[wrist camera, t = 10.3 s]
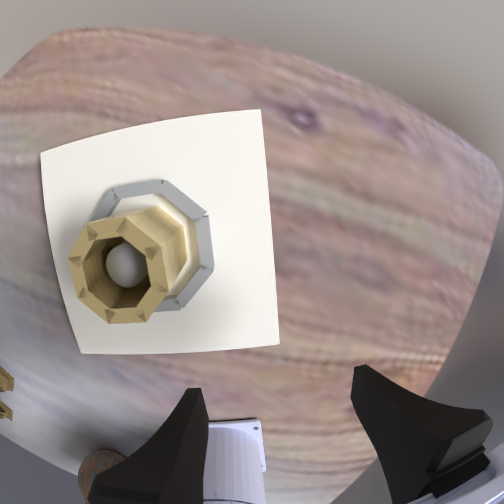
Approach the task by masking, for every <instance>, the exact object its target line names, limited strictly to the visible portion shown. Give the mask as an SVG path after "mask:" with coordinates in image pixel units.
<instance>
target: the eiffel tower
mask: <svg viewBox="0 0 504 504" xmlns="http://www.w3.org/2000/svg"><path fill="white" fill-rule="evenodd" d="M13 385H14V378H13V377H12V376H11V375H10V374H9V373H8V372H6V371H5V370H4V369H3V368H2V367H1V366H0V392H4V391H6V390H8V391H9V390H11V391H13ZM6 417H7V418H9V419H10V420H11V421H12V410H11V409H10V408H9V407H7V406H6V405H5V404H4V403H3V402H2V401H0V419H3V418H6Z"/></svg>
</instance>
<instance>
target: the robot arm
mask: <svg viewBox="0 0 504 504" xmlns="http://www.w3.org/2000/svg"><path fill="white" fill-rule="evenodd" d="M351 400H352V403H353V406H354V409H355V412H356V414H357V416H358V418H359V420H360V422H361V424H362V425H363V427H364V429H365V431H366V433H367V435H368V436H369V438H370V440H371V442H372V444H373V446H374V448H375V450H376V452H377V454H378V457H379V460H380V462H381V465H382V468H383V471H384V474H385V477H386V480H387V484H388V487H389V490H390V494H391V498H392V503H393V504H497V503H499V502H500V501H501V500H502V499H504V442H503V443H502V444H501V445H499V446H498V447H496V448H495V449H494V450H492V451H491V452H490V453H489V454H488V455H487V456H485V454H484V453H483V452H484V451H485V448H484V446H483V445H482V444H483V443H484V441H485V439H486V438H487V436H488V434H489V433H490V431H491V429H492V426H493V421H492V419H491V418H490V417H489V416H488V415H487V414H486V413H485V412H484V411H483V410H478V409H465V408H458V407H452V406H449V405H444V404H441V403H437V402H434V401H431V400H428V399H426V398H423V397H421V396H419V395H416V394H414V393H412V392H410V391H408V390H406V389H404V388H403V387H401V386H399V385H397V384H396V383H394V382H392V381H391V380H389V379H388V378H386V377H384V376H383V375H381V374H380V373H378V372H377V371H375V370H374V369H372V368H371V367H369V366H368V365H366V364H365V365H361V366H357V367H354V375H353V383H352V391H351ZM265 471H266V464H265V456H264V448H263V440H262V431H261V423H260V421H259V420H258V419H251V420H241V421H227V422H209V417H208V414H207V410H206V406H205V402H204V398H203V395H202V391H201V388H188V389H187V390H186V391H185V393H184V395H183V396H182V398H181V399H180V401H179V403H178V404H177V406H176V407H175V409H174V410H173V411H172V413H171V414H170V416H169V417H168V418H167V420H166V421H165V422H164V423H163V425H162V426H161V427H160V428H159V430H158V431H157V432H156V433H155V434H154V435H153V436H152V437H151V438H150V439H149V440H148V441H147V442H146V443H145V444H144V445H143V446H142V447H140V448H139V449H138V450H137V451H136V452H134V453H133V454H132V455H130V456H129V457H127V458H126V459H124V460H123V461H121V462H120V463H118V464H116V465H115V466H113V467H111V468H109V469H107V470H105V471H103V472H101V473H98V474H96V476H95V478H94V480H93V483H92V485H91V488H90V491H89V494H88V497H87V499H88V501H89V503H90V504H266V498H265V490H264V482H263V474H262V472H265Z"/></svg>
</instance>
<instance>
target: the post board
mask: <svg viewBox="0 0 504 504" xmlns="http://www.w3.org/2000/svg"><path fill="white" fill-rule="evenodd" d="M41 172H42V185H43V195H44V204H45V212H46V219H47V226H48V232H49V238H50V243H51V248H52V254H53V258H54V263H55V268H56V272H57V276H58V280H59V284H60V288H61V292H62V296H63V299H64V303H65V306H66V309H67V313H68V316H69V319H70V322H71V325H72V328H73V331H74V334H75V337H76V340H77V343H78V346H79V348H80V351H81V353H82V354H167V353H188V352H204V351H218V350H229V349H240V348H250V347H259V346H267V345H275V344H279V328H278V312H277V297H276V282H275V268H274V255H273V242H272V229H271V217H270V205H269V193H268V182H267V171H266V160H265V149H264V139H263V129H262V119H261V109H259V110H244V111H232V112H222V113H213V114H205V115H197V116H190V117H183V118H176V119H170V120H164V121H159V122H153V123H148V124H143V125H138V126H134V127H129V128H125V129H120V130H116V131H112V132H108V133H104V134H100V135H96V136H93V137H89V138H85V139H82V140H78V141H75V142H72V143H68V144H65V145H62V146H59V147H56V148H53V149H50V150H47V151H44V152H41ZM157 206H159V207H160V208H161V209H163V210H164V211H165V212H166V213H168V214H169V215H170V216H171V217H173V218H174V219H175V220H176V221H178V222H179V223H180V224H181V225H183V226H184V232H185V240H186V247H187V254H188V260H187V261H186V263H185V265H184V266H183V268H182V270H181V272H180V273H179V275H178V277H177V279H176V280H175V282H174V284H173V286H172V288H171V289H170V291H169V292H168V294H167V295H166V296H165V298H164V299H163V300H162V302H161V303H160V304H159V306H158V307H157V308H156V310H155V311H154V312H153V314H152V315H151V316H150V318H149V319H148V320H147V322H144V323H121V324H108V323H107V322H106V321H104V320H103V319H102V318H101V317H99V316H98V315H97V314H96V313H94V312H93V311H92V310H91V309H90V308H88V307H87V306H86V305H85V304H84V303H82V302H81V301H80V300H79V299H78V298H77V295H76V291H75V287H74V283H73V279H72V275H71V271H70V266H69V262H68V256H69V254H70V252H71V251H72V249H73V247H74V245H75V243H76V241H77V239H78V238H79V236H80V234H81V232H82V230H83V229H84V227H85V225H86V223H89V222H93V221H96V220H99V219H102V218H105V217H109V216H112V215H115V214H119V213H122V212H126V211H130V210H137V209H143V208H150V207H157ZM106 267H107V271H108V274H109V276H110V277H111V279H112V280H113V281H114V282H115V283H117V284H118V285H120V286H123V287H132V286H135V285H137V284H138V283H140V282H141V280H142V279H143V278H144V277H145V276H146V275H147V274H148V267H147V262H146V256H145V255H144V254H143V253H141V252H140V251H139V250H138V249H136V248H135V247H134V246H133V245H132V244H130V243H129V242H128V241H127V240H125V239H124V243H122V244H120V245H118V246H117V247H115V248H114V249H112V250H111V251H110V253H109V254H108V257H107V260H106Z"/></svg>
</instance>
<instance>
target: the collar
mask: <svg viewBox="0 0 504 504" xmlns="http://www.w3.org/2000/svg"><path fill="white" fill-rule="evenodd" d="M124 239H125V240H127V241H128V242H129V243H130V244H132V245H133V246H134V247H135V248H136V249H138V250H139V251H140V252H141V253H143V254H144V255H145V256H146V262H147V267H148V274H147V275H146V276H145V277H144V278H143V279H142V280H141V282H140V283H138V284H137V285H135V286H132V287H123V286H120V285H118V284H117V283H115V282H114V281H113V280H112V279H111V277H110V276H109V274H108V271H107V267H106V260H107V257H108V254H109V253H110V251H111V250H112V249H114V248H115V247H117V246H118V245H120V244H122V243H124ZM187 260H188V254H187V247H186V240H185V232H184V226H183V225H181V224H180V223H179V222H178V221H176V220H175V219H174V218H173V217H171V216H170V215H169V214H168V213H166V212H165V211H164V210H163V209H161V208H160V207H159V206H157V207H150V208H143V209H137V210H130V211H126V212H122V213H119V214H115V215H112V216H109V217H105V218H102V219H99V220H96V221H93V222H89V223H86V225H85V227H84V229H83V230H82V232H81V234H80V236H79V238H78V239H77V241H76V243H75V245H74V247H73V249H72V251H71V252H70V254H69V256H68V262H69V266H70V271H71V275H72V279H73V283H74V287H75V291H76V295H77V298H78V299H79V300H80V301H81V302H82V303H84V304H85V305H86V306H87V307H88V308H90V309H91V310H92V311H93V312H94V313H96V314H97V315H98V316H99V317H101V318H102V319H103V320H104V321H106V322H107V323H108V324H121V323H144V322H147V320H148V319H149V318H150V316H151V315H152V314H153V312H154V311H155V310H156V308H157V307H158V306H159V304H160V303H161V302H162V300H163V299H164V298H165V296H166V295H167V294H168V292H169V291H170V289H171V288H172V286H173V284H174V282H175V280H176V279H177V277H178V275H179V273H180V272H181V270H182V268H183V266H184V265H185V263H186V261H187Z"/></svg>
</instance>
